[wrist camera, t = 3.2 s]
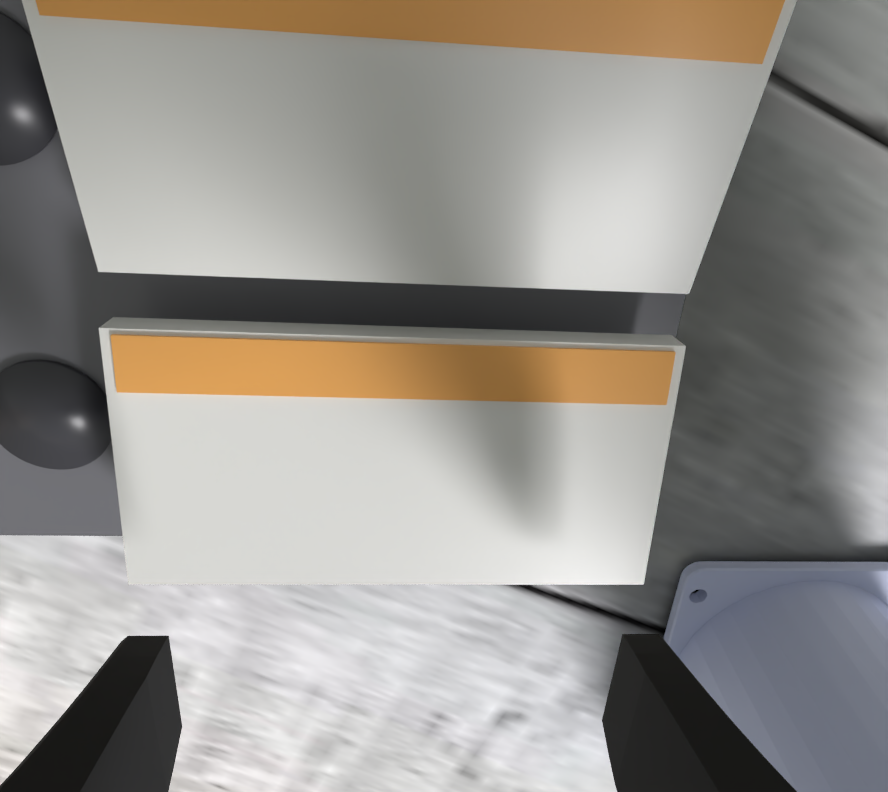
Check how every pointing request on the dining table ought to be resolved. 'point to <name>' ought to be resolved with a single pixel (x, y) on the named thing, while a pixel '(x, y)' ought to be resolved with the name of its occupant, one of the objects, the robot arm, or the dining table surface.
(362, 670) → the dining table surface
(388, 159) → the rocker middle
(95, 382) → the rocker switch panel
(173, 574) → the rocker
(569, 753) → the dining table surface
